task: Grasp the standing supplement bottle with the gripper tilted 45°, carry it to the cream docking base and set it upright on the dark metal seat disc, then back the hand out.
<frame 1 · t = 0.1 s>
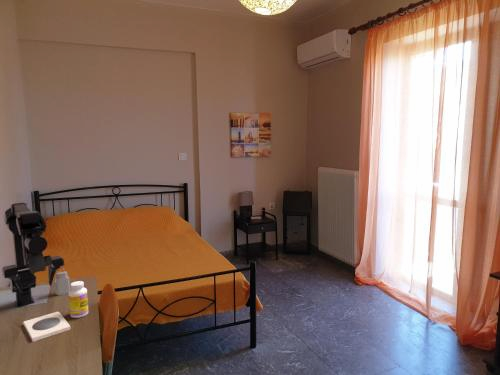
hand: (36, 289, 132), 15 cm above the table, tool pointing down, fingers open, 9 cm apart
docking base: (46, 326, 134), on the table
power adapter: (63, 293, 164), on the table
supplement bottle: (79, 315, 143), on the table
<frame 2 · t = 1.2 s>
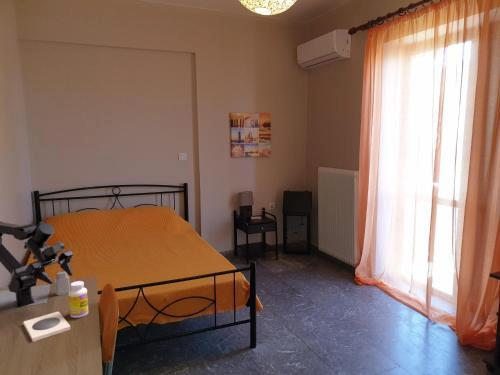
hand: (62, 279, 144), 13 cm above the table, tool tilted 45°, fingers open, 9 cm apart
nothing on the table moved.
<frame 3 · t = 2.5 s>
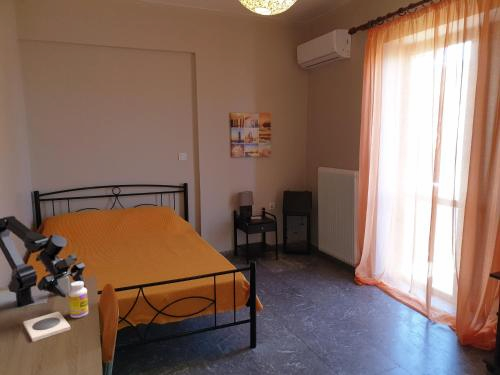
hand: (75, 292, 142), 9 cm above the table, tool tilted 45°, fingers open, 9 cm apart
nothing on the table moved.
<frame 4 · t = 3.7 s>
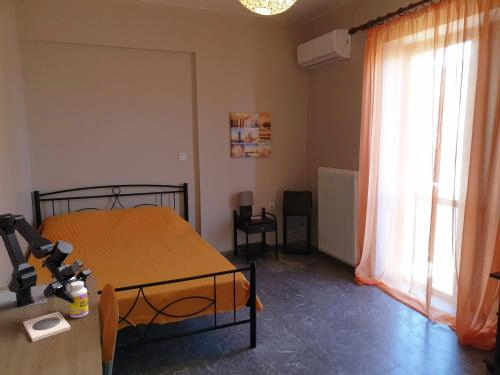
hand: (81, 299, 142), 7 cm above the table, tool tilted 45°, fingers closed on supplement bottle, 7 cm apart
supplement bottle: (79, 314, 143), on the table, touching gripper
everything else where it was.
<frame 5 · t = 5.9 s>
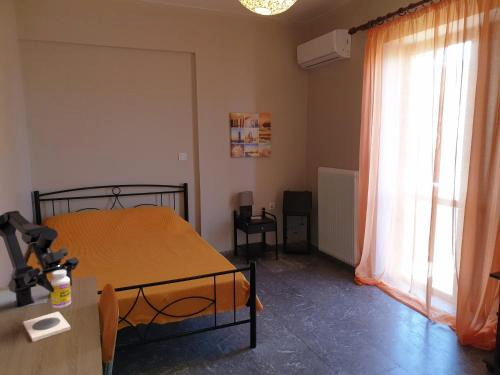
hand: (62, 288, 135), 13 cm above the table, tool tilted 45°, fingers closed on supplement bottle, 7 cm apart
supplement bottle: (61, 305, 137), point 6 cm above the table, touching gripper
everything else where it was.
when the fingers open (9 cm above the table, at t = 8.3 s): supplement bottle drops 1 cm, resting on docking base.
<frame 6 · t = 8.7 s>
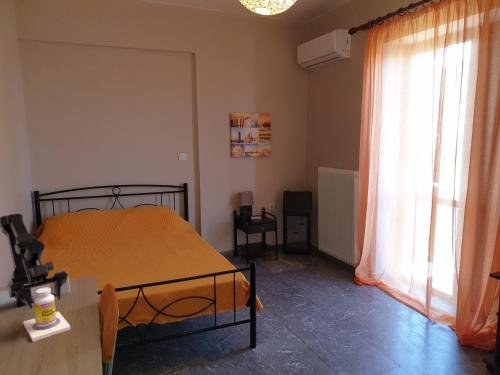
hand: (45, 303, 132), 9 cm above the table, tool tilted 45°, fingers open, 9 cm apart
supplement bottle: (46, 323, 134), point 1 cm above the table, touching docking base
everything else where it was.
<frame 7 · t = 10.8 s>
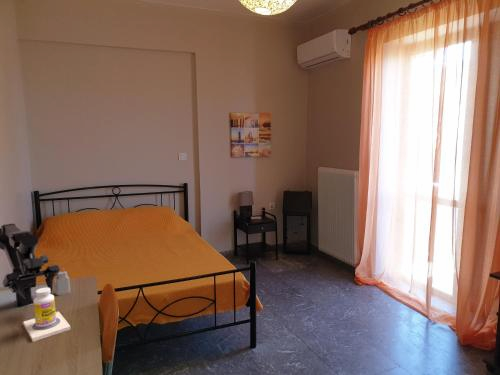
hand: (38, 295, 139), 10 cm above the table, tool tilted 40°, fingers open, 9 cm apart
nothing on the table moved.
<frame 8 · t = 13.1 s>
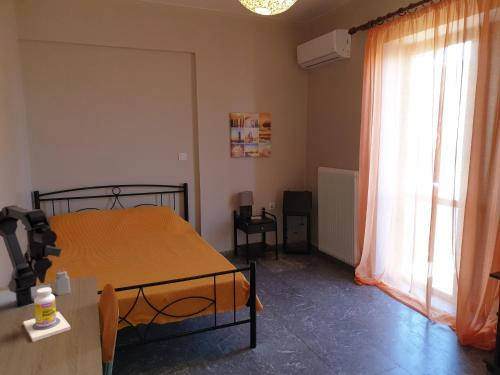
hand: (39, 279, 145), 13 cm above the table, tool pointing down, fingers open, 9 cm apart
nothing on the table moved.
at the end: supplement bottle 0.2 cm off-centre on the docking base, point 1.2 cm above the docking base's base; supplement bottle tilted 1°; the gripper is holding nothing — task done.
